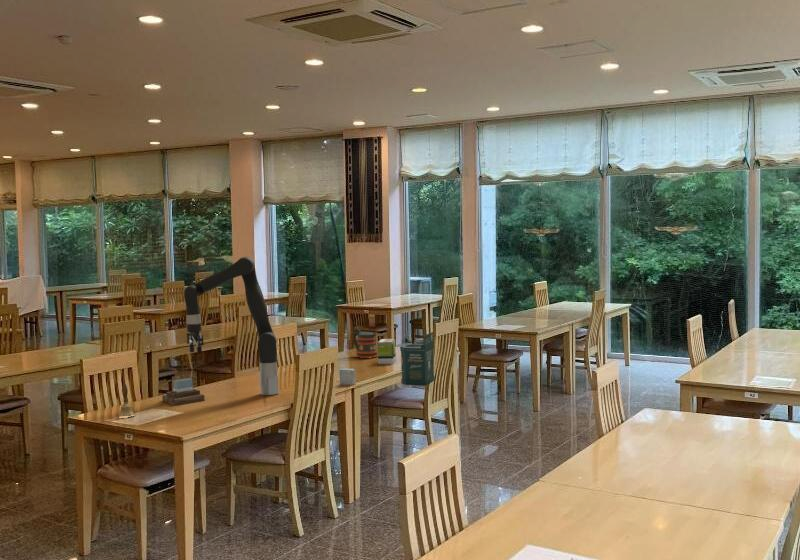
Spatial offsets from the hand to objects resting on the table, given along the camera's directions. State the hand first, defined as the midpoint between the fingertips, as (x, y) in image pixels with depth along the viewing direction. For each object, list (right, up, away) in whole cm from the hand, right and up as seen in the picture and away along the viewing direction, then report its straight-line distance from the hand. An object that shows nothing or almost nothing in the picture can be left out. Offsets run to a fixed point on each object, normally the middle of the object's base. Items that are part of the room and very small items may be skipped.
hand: (195, 352), depth 426 cm
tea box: (+101, -16, +100) cm, 143 cm away
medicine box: (+80, -20, +25) cm, 86 cm away
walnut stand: (-4, -24, -8) cm, 26 cm away
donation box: (+119, -19, +25) cm, 123 cm away
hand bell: (-22, -27, -43) cm, 55 cm away
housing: (-4, -21, -8) cm, 23 cm away
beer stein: (+85, -15, +125) cm, 152 cm away
